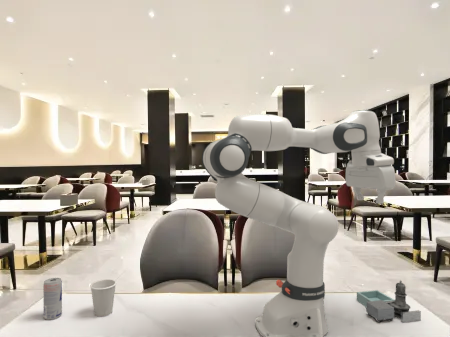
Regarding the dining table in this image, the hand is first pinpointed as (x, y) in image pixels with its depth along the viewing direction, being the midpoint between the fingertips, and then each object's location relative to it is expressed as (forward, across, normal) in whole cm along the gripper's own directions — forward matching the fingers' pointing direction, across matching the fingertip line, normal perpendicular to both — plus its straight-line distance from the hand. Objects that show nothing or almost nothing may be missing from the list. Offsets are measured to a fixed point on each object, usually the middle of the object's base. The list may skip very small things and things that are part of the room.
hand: (369, 201), depth 103 cm
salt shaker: (+40, +1, +8) cm, 41 cm away
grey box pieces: (+39, +1, +4) cm, 40 cm away
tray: (+40, -8, +5) cm, 41 cm away
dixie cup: (+30, -23, -90) cm, 97 cm away
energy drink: (+29, -24, -106) cm, 112 cm away
